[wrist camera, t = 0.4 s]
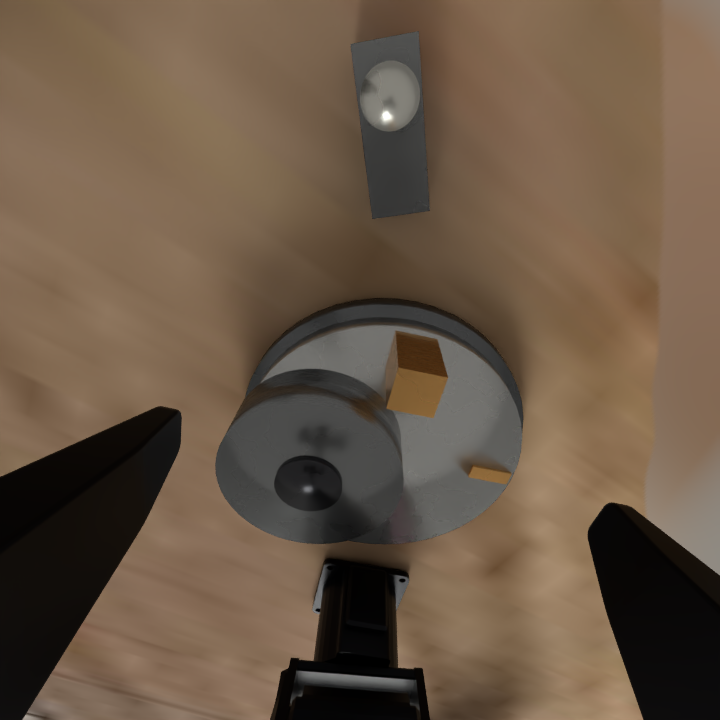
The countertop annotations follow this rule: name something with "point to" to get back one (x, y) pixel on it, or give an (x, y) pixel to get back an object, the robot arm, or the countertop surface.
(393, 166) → the grey bar
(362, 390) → the cover
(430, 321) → the turntable base
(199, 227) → the countertop surface
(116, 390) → the countertop surface
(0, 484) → the robot arm
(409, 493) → the platter
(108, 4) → the countertop surface
